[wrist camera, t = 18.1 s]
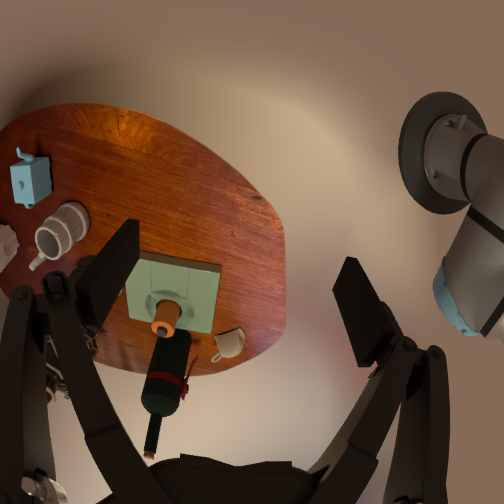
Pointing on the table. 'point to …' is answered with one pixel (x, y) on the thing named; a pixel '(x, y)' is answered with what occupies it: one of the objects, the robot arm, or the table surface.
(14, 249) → the cup
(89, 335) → the lantern
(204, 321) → the green peg socket base
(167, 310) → the orange cylinder
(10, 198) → the table surface
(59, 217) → the mug
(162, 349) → the wine bottle
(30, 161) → the teapot
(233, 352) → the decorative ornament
